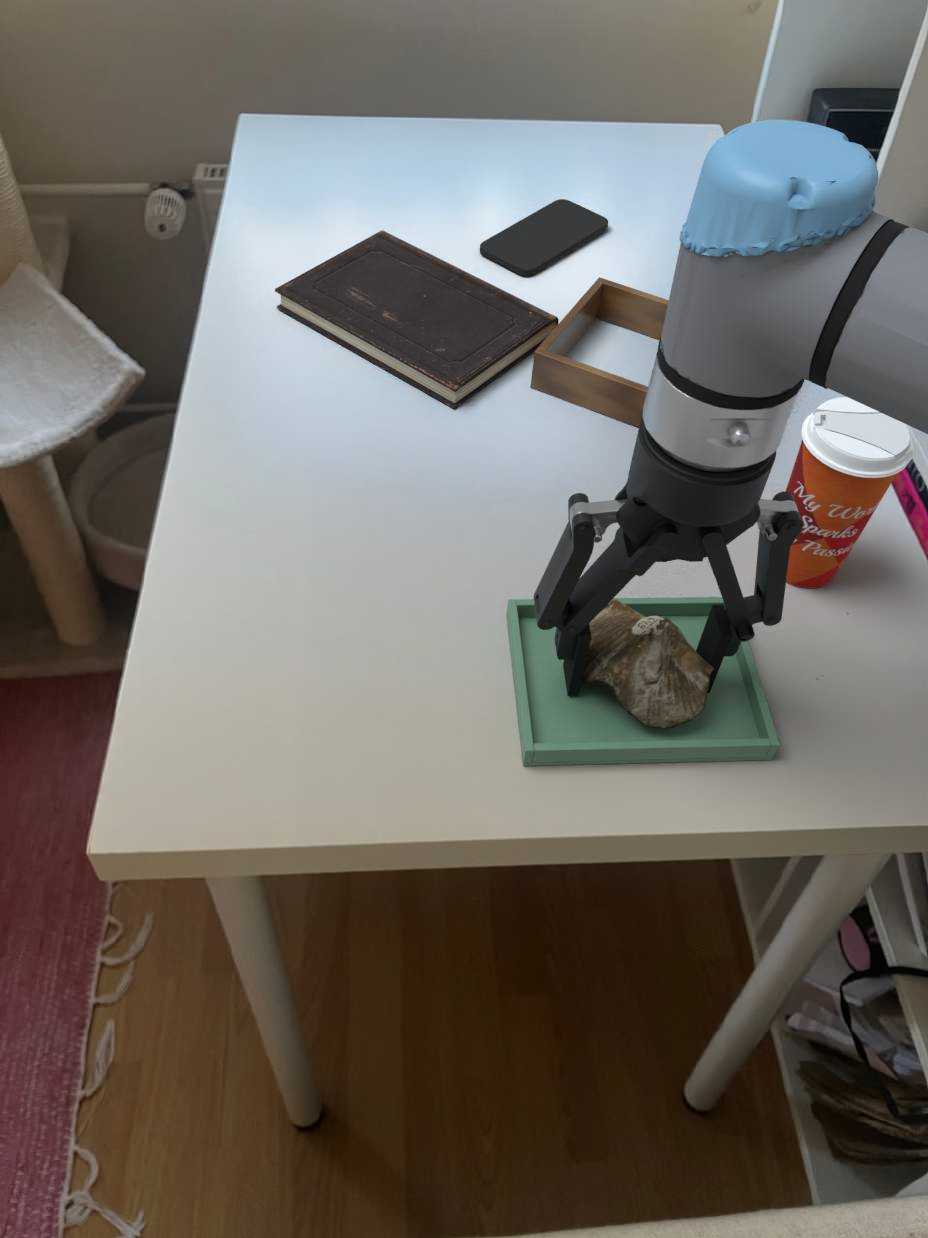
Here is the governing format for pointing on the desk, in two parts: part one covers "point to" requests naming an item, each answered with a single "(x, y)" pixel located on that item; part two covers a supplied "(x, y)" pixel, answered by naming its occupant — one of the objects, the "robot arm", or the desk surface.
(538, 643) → the tray
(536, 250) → the phone
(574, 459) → the desk surface
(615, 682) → the fossilized seashell
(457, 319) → the hardcover book
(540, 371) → the rectangular frame
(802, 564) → the paper cup
